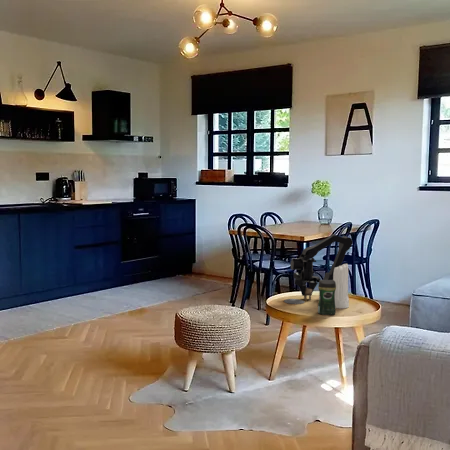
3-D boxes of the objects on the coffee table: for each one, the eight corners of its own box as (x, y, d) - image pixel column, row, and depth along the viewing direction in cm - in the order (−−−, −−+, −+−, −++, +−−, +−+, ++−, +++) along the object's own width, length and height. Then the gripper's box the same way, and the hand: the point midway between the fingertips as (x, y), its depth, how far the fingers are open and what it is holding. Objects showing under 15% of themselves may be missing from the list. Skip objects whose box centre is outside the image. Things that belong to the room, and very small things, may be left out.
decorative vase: (327, 306, 319) (328, 263, 317) (332, 303, 329) (334, 261, 326) (345, 309, 314) (347, 265, 312) (350, 305, 324) (352, 263, 321)
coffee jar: (334, 312, 307) (335, 278, 306) (336, 315, 300) (337, 281, 298) (316, 311, 308) (317, 278, 306) (318, 315, 300) (319, 281, 299)
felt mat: (308, 302, 331) (308, 301, 331) (296, 305, 322) (296, 304, 322) (292, 298, 339) (292, 297, 339) (280, 301, 331) (280, 300, 330)
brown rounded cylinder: (313, 299, 338) (314, 288, 337) (307, 300, 333) (308, 290, 333) (305, 297, 342) (306, 287, 341) (299, 299, 338) (300, 288, 337)
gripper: (306, 266, 348) (305, 290, 350) (287, 269, 335) (286, 294, 336) (321, 268, 340) (320, 293, 342) (302, 271, 327) (301, 297, 329)
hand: (307, 294), depth 337 cm, fingers open, 7 cm apart
